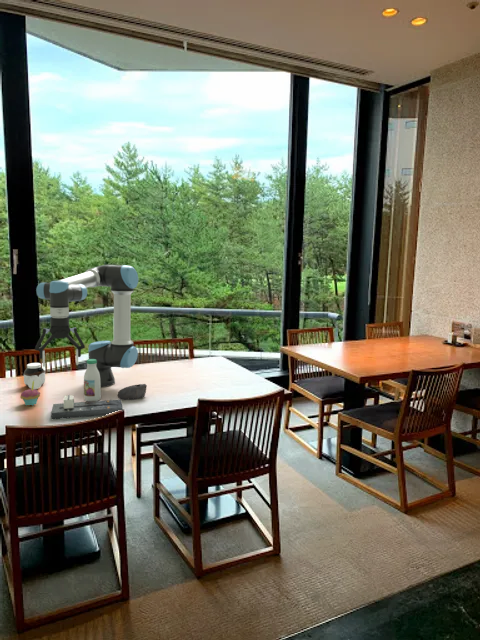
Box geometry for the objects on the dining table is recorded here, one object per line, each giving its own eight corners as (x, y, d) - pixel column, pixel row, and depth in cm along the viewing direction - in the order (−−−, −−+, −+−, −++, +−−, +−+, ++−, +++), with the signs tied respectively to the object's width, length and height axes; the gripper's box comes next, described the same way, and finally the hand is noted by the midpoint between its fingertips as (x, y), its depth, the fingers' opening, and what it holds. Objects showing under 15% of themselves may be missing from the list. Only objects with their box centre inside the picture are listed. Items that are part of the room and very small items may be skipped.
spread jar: (38, 382, 261) (37, 361, 259) (52, 385, 255) (51, 364, 254) (18, 387, 251) (17, 366, 249) (32, 391, 245) (31, 369, 243)
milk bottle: (94, 395, 240) (93, 357, 237) (104, 399, 236) (103, 359, 232) (81, 399, 234) (80, 359, 231) (90, 403, 230) (89, 362, 227)
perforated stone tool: (118, 402, 232) (118, 388, 231) (116, 399, 237) (116, 385, 236) (148, 398, 239) (148, 385, 237) (146, 395, 243) (146, 382, 242)
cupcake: (43, 401, 230) (42, 377, 229) (36, 407, 222) (35, 382, 220) (25, 401, 230) (23, 377, 228) (17, 407, 222) (16, 382, 220)
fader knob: (64, 404, 217) (64, 395, 216) (73, 403, 218) (73, 394, 217) (63, 408, 211) (63, 399, 211) (73, 408, 212) (73, 398, 212)
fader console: (53, 410, 219) (53, 403, 218) (121, 405, 227) (121, 399, 227) (51, 419, 207) (51, 412, 207) (122, 414, 216) (122, 407, 216)
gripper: (27, 318, 198) (29, 368, 201) (90, 317, 207) (91, 365, 210) (28, 316, 205) (30, 364, 208) (89, 315, 214) (90, 361, 217)
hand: (60, 365), depth 209 cm, fingers open, 13 cm apart
